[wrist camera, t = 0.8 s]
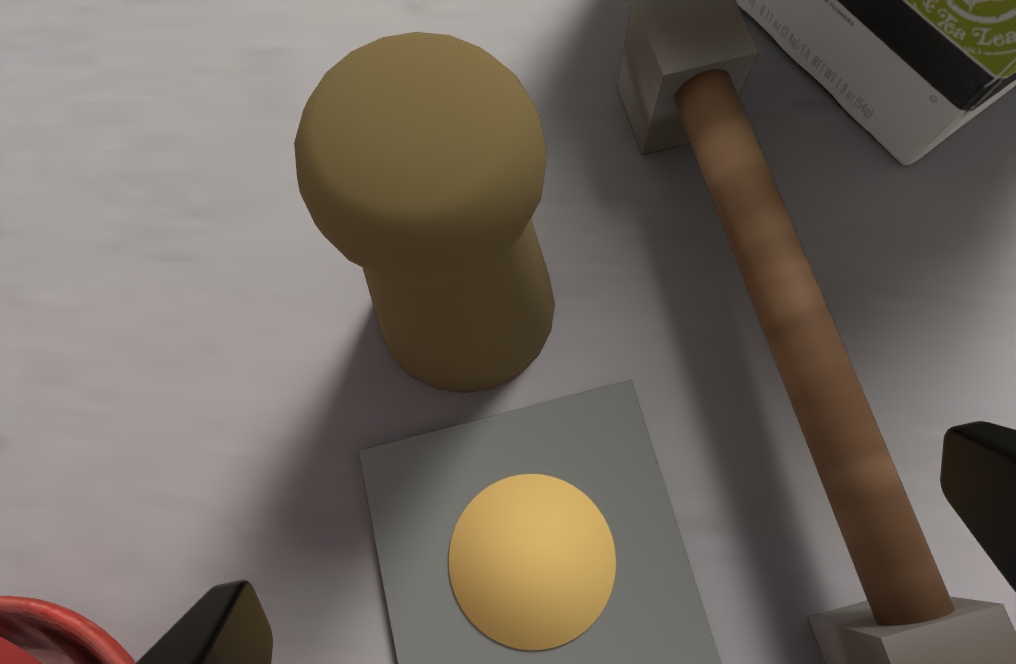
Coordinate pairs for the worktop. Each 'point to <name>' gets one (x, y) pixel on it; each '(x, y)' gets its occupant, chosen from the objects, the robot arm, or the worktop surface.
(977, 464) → the robot arm
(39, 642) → the plant pot
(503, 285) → the cork
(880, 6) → the tea box
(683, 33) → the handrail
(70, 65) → the worktop surface
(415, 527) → the pad
